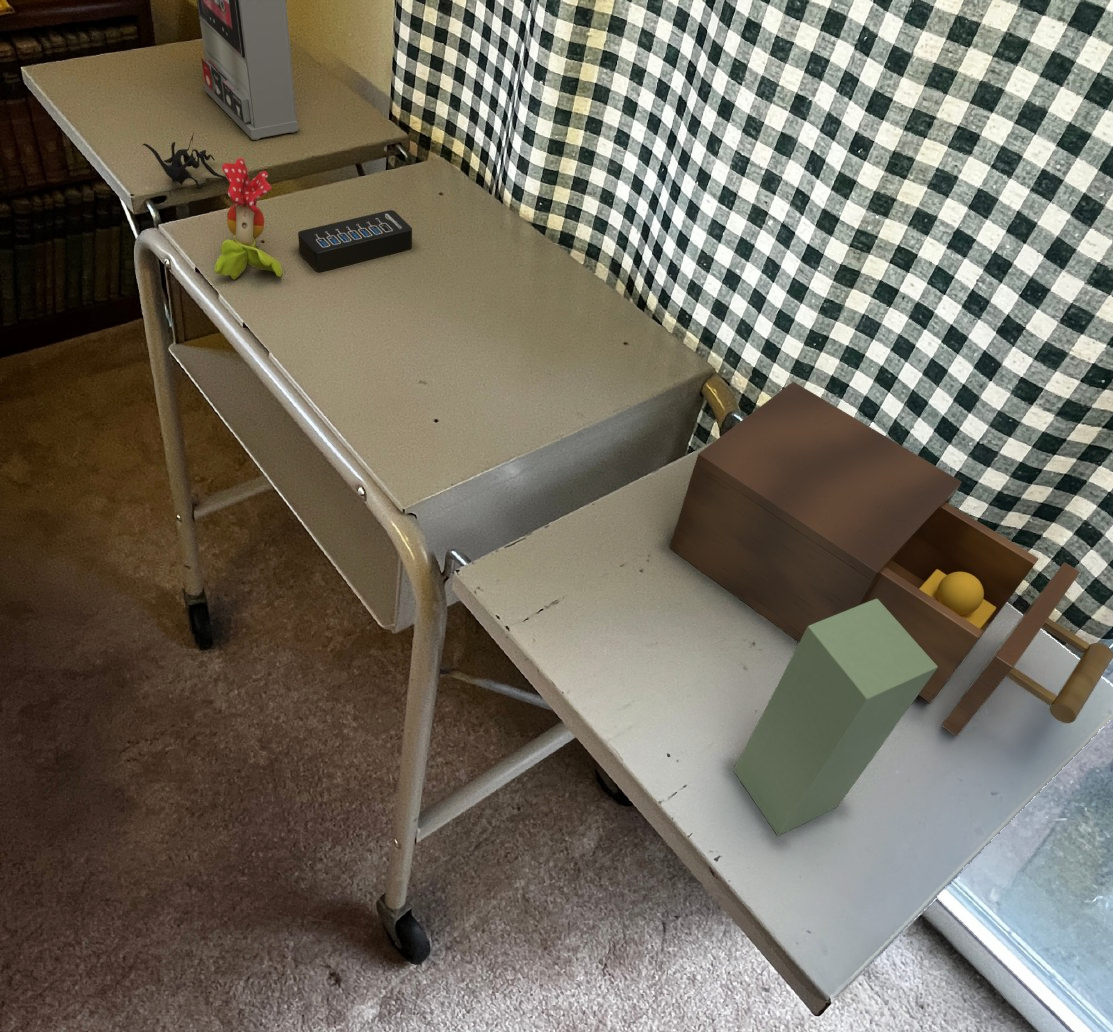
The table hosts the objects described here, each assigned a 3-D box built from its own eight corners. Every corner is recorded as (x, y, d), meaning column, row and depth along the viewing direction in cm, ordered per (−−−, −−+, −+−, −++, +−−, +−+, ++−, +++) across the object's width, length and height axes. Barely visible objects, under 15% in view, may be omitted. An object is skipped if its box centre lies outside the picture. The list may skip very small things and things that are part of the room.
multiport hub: (298, 251, 98) (296, 231, 96) (393, 228, 103) (393, 208, 101) (317, 273, 96) (315, 253, 94) (413, 248, 101) (413, 228, 99)
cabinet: (908, 571, 77) (962, 481, 70) (826, 662, 70) (877, 572, 62) (758, 473, 83) (793, 381, 75) (668, 548, 76) (697, 453, 68)
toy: (975, 637, 70) (1014, 583, 66) (948, 671, 68) (987, 617, 63) (917, 598, 72) (952, 543, 68) (889, 630, 70) (923, 575, 65)
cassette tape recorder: (203, 93, 119) (167, -143, 101) (250, 85, 122) (222, -146, 104) (250, 142, 112) (220, -103, 94) (298, 133, 115) (278, -106, 97)
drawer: (1084, 681, 70) (1149, 612, 64) (1021, 783, 64) (1086, 716, 58) (868, 541, 77) (907, 467, 71) (792, 619, 71) (828, 544, 65)
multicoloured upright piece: (215, 271, 97) (216, 287, 89) (198, 155, 93) (197, 161, 85) (278, 268, 99) (285, 283, 91) (265, 154, 95) (270, 159, 87)
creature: (180, 166, 109) (137, 181, 102) (178, 117, 106) (133, 129, 99) (243, 183, 108) (203, 200, 101) (243, 134, 105) (201, 148, 98)
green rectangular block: (838, 806, 62) (938, 666, 50) (777, 836, 60) (867, 699, 48) (792, 743, 65) (877, 597, 53) (732, 770, 63) (807, 625, 51)
